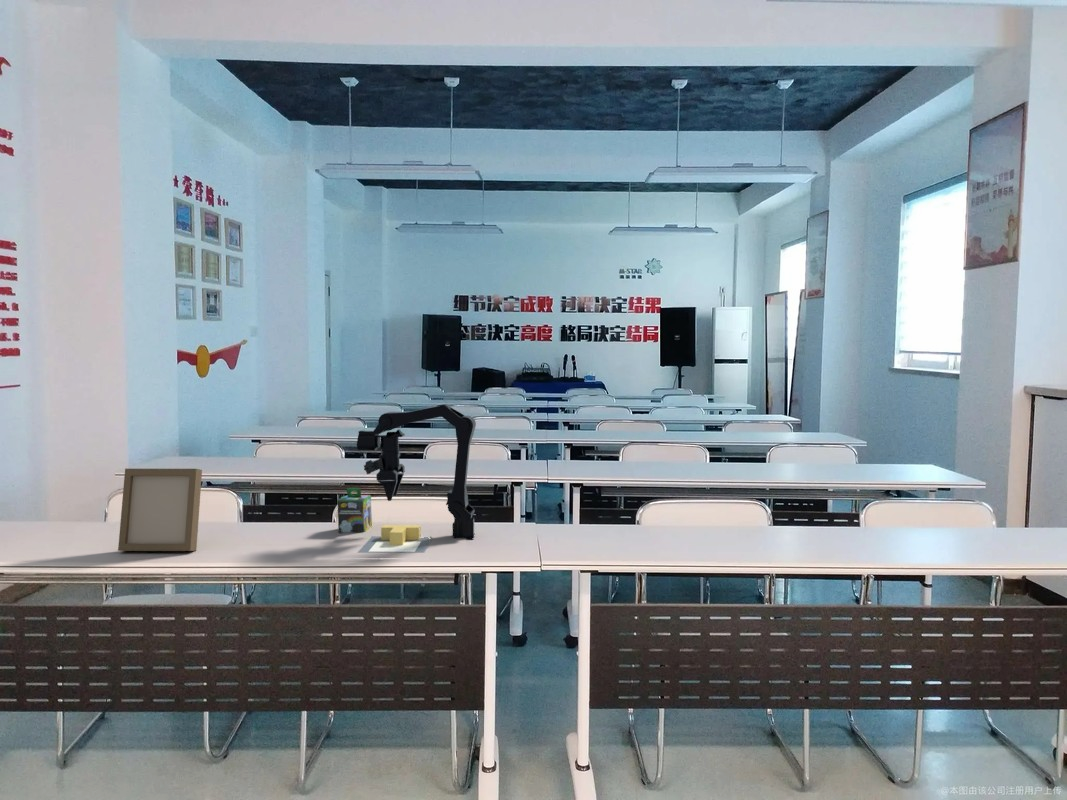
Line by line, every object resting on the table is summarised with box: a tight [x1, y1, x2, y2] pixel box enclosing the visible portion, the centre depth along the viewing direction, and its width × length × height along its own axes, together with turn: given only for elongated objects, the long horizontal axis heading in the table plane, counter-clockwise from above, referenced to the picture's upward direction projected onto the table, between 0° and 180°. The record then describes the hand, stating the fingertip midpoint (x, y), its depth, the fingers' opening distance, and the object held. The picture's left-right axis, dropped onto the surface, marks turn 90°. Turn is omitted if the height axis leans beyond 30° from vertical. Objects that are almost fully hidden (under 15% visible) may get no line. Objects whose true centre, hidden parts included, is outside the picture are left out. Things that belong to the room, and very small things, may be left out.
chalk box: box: [337, 487, 373, 533], centre depth 275 cm, size 9×9×15 cm
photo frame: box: [117, 468, 203, 552], centre depth 250 cm, size 15×22×25 cm
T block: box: [380, 524, 422, 545], centre depth 258 cm, size 12×11×4 cm
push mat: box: [357, 535, 433, 554], centre depth 254 cm, size 20×21×1 cm
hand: (392, 498), depth 266 cm, fingers open, 9 cm apart
